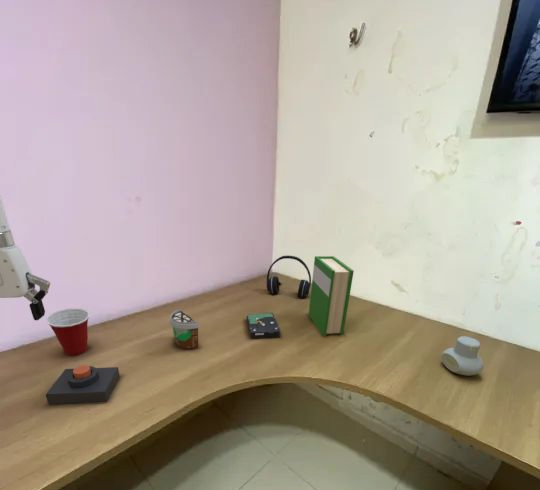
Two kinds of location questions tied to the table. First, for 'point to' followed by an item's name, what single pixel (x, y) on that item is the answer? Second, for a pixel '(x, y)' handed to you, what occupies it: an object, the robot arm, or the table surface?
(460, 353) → the air freshener
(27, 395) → the table surface
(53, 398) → the button base
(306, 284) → the headphones
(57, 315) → the plastic cup
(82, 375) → the push button
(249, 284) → the table surface
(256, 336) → the disk drive
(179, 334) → the food container
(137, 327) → the table surface
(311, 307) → the hardback book
